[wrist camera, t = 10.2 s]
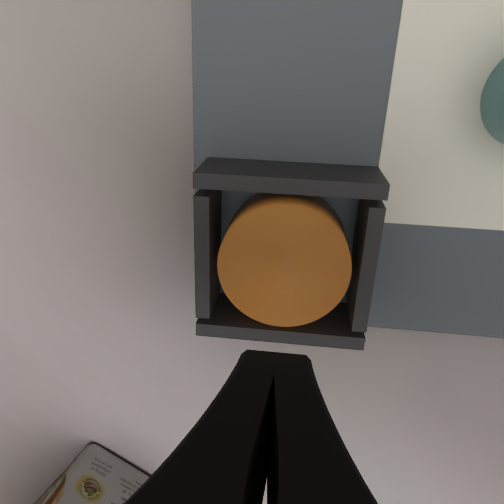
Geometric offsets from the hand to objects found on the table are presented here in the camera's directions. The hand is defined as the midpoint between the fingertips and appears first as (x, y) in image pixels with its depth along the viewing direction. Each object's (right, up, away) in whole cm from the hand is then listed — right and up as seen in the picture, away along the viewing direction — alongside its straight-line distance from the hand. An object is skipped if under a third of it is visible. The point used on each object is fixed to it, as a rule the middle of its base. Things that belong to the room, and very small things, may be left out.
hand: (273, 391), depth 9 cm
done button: (+1, +3, +7) cm, 8 cm away
